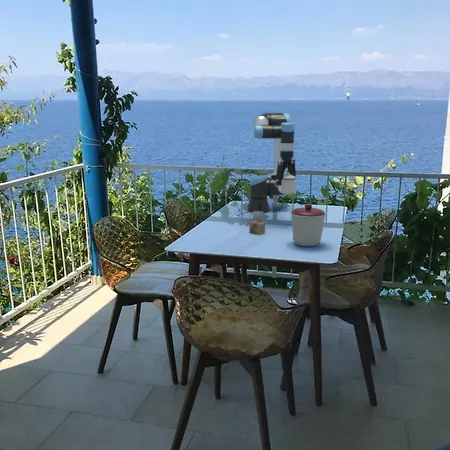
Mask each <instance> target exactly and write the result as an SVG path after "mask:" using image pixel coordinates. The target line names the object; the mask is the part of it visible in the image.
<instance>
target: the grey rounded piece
mask: <svg viewBox="0 0 450 450" xmlns="http://www.w3.org/2000/svg"><path fill="white" fill-rule="evenodd" d="M253 221H258V222H263V223H264V213H263V212H262V211H253V212H252V222H253Z"/></svg>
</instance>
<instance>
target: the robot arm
mask: <svg viewBox="0 0 450 450" xmlns="http://www.w3.org/2000/svg"><path fill="white" fill-rule="evenodd" d="M253 127H254V128H253V137H254V139H258V140H261V139H264V140H265V139H273V173H271V174H270V177H269V175H265V174H264V175H263V174H262V175H256V176H253V177H251V178H250V181H249V182H250V183H249V187H250V188H249V191H250V192H249V202H248V203H247V204H248V205H247V207H246V208H247V209H246V211H247V212H250V213H253V211H262V212H263V214H264V213H268V212H270V210H271V208H270V204H269V201H268V200H269V199H268V196H281V197H282V196H288V195H289V194H283V193H280V191H283V180H282V178H283V175H285V174H286V173H287V172H289V173H290V174H291V175H292V176H295V177H297V176H296V175H297V173H296V159H293V158H294V147H295V146H294V145H295V144H294V143H295V130H296V127H295V123H294V122H292V119H291V115H290V113H288V112H287V113H286V112H264V113H261V114H259V115H257V116H256V117H255V118H254V120H253ZM276 180H278V181H276ZM275 181H276V185H277V186H278V188H277V187H276V186H275Z"/></svg>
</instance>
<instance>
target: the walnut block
mask: <svg viewBox="0 0 450 450" xmlns="http://www.w3.org/2000/svg"><path fill="white" fill-rule="evenodd" d="M248 231H249V232H248V233H250V234H252V233H253V234H254V235H256V234H257V236H261V235H264V234H266V223H265V222H264V221H263V222H258V221H253V220H252V221H250V222H249V230H248Z"/></svg>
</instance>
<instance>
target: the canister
mask: <svg viewBox="0 0 450 450" xmlns="http://www.w3.org/2000/svg"><path fill="white" fill-rule="evenodd" d="M289 214H290V215H291V217H290V218H291V229H292V239H293V241H294V242H293V243H295V244H296V245H298V246H300V247H316V246H319V244H320V243H321V240H322V235H323V231H324V224H325V218H326V216H327V212H326V211H324V210H323V209H320V208H317V207H313V205H312V203H306V204H305V205H304V207H296V208H294V209H292V210H291V211H289Z"/></svg>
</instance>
